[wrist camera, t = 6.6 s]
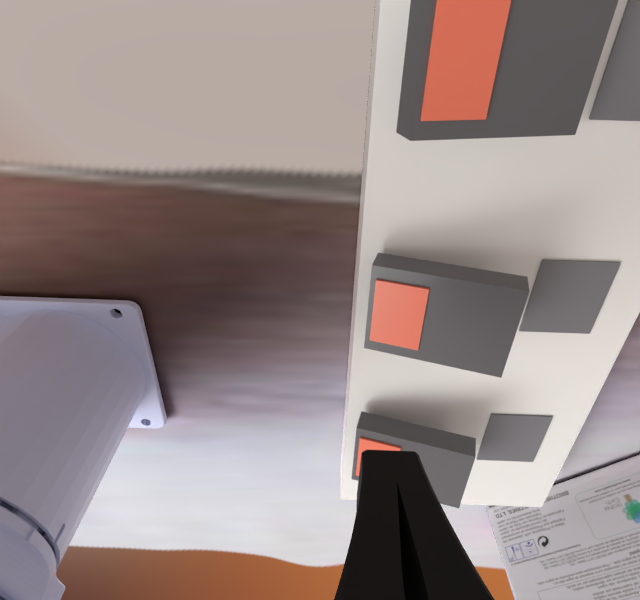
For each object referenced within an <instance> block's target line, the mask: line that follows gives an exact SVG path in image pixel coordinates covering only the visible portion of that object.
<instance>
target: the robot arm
mask: <svg viewBox="0 0 640 600" xmlns="http://www.w3.org/2000/svg"><path fill="white" fill-rule="evenodd" d="M114 309H118V310H119V311H121V313H122V314H120V313H117V312H116V311H115V310H114ZM147 419H148V420H147ZM166 421H167V416H166V412H165V408H164V404H163V399H162V395H161V391H160V387H159V383H158V378H157V374H156V370H155V366H154V361H153V357H152V353H151V349H150V345H149V340H148V336H147V332H146V328H145V324H144V319H143V315H142V311H141V308H140V306H139V305H138V304H137V303H135V302H133V301H128V300H101V299H72V298H43V297H14V296H0V600H60V599H61V597H62V595H63V592H64V590H65V586H64V585H63V584H62V583H61V582H60V581H59V580H58V578H57V577H56V570H57V567H58V565H59V564H60V562H61V560H62V558H63V556H64V554H65V551H66V550H67V548H68V546H69V544H70V542H71V540H72V538H73V536H74V534H75V532H76V530H77V528H78V526H79V524H80V522H81V520H82V518H83V516H84V514H85V512H86V510H87V508H88V506H89V504H90V502H91V500H92V498H93V496H94V494H95V492H96V490H97V488H98V486H99V484H100V482H101V480H102V478H103V476H104V474H105V472H106V470H107V468H108V466H109V464H110V462H111V460H112V458H113V456H114V454H115V452H116V450H117V448H118V446H119V444H120V442H121V440H122V438H123V436H124V434H125V432H126V430H127V428H128V427H132V428H162V427H164V425H165V424H166ZM334 600H494V598H493V597H492V595H491V594H490V592H489V590H488V589H487V587H486V586H485V584H484V582H483V581H482V579H481V577H480V576H479V574H478V573H477V571H476V569H475V567H474V566H473V564H472V562H471V560H470V559H469V557H468V555H467V553H466V552H465V550H464V548H463V546H462V545H461V543H460V541H459V539H458V537H457V535H456V533H455V532H454V530H453V528H452V526H451V524H450V522H449V520H448V519H447V517H446V515H445V513H444V511H443V509H442V507H441V505H440V503H439V501H438V498H437V496H436V494H435V492H434V490H433V488H432V486H431V484H430V481H429V479H428V477H427V474H426V472H425V470H424V467H423V465H422V462H421V460H420V457H419V455H418V454H417V453H416V452H415V451H391V450H365V451H363V452H362V453H361V462H360V471H359V480H358V489H357V513H356V519H355V524H354V529H353V533H352V538H351V542H350V546H349V549H348V553H347V557H346V561H345V564H344V568H343V572H342V575H341V579H340V582H339V586H338V589H337V592H336V595H335V599H334Z"/></svg>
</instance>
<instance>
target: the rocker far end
mask: <svg viewBox="0 0 640 600" xmlns="http://www.w3.org/2000/svg"><path fill="white" fill-rule="evenodd" d="M365 450H391V451H415V452H416V453H417V454H418V455H419V457H420V460H421V462H422V465H423V467H424V470H425V472H426V474H427V477H428V479H429V481H430V484H431V486H432V488H433V490H434V492H435V494H436V496H437V498H438V501H439V503H441V504H445V505H449V506H452V507H456V508H459V506H460V503H461V500H462V497H463V494H464V491H465V488H466V485H467V482H468V479H469V476H470V473H471V469H472V466H473V463H474V460H475V457H476V438H473V437H468V436H464V435H460V434H456V433H451V432H447V431H443V430H439V429H434V428H430V427H426V426H422V425H418V424H413V423H409V422H405V421H401V420H396V419H392V418H388V417H384V416H379V415H375V414H371V413H367V412H362V411H361V414H360V417H359V421H358V424H357V428H356V438H355V448H354V458H353V468H352V479H353V480H357V481H358V480H359V471H360V462H361V453H362V452H363V451H365Z"/></svg>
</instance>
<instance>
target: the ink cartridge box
mask: <svg viewBox="0 0 640 600" xmlns="http://www.w3.org/2000/svg"><path fill="white" fill-rule="evenodd" d="M487 513H488V516H489V520H490V523H491V526H492V529H493V533H494V536H495V539H496V542H497V545H498V548H499V551H500V555H501V558H502V561H503V564H504V567H505V570H506V573H507V576H508V580H509V583H510V587H511V590H512V593H513V596H514V599H515V600H640V455H637V456H634V457H632V458H629V459H626V460H623V461H620V462H618V463H615V464H612V465H609V466H607V467H604V468H601V469H598V470H595V471H593V472H590V473H587V474H584V475H582V476H579V477H576V478H573V479H570V480H567V481H565V482H562V483H559V484H556V485H553V486H552V488H551V490H550V492H549V494H548V496H547V498H546V500H545V502H544V504H543V506H542V507H521V506H493V507H490V508H489V509H487Z"/></svg>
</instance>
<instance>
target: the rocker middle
mask: <svg viewBox="0 0 640 600" xmlns="http://www.w3.org/2000/svg"><path fill="white" fill-rule="evenodd" d="M529 292H530V291H529V284H528V277H527V276H520V275H514V274H508V273H502V272H496V271H489V270H483V269H477V268H471V267H465V266H458V265H452V264H446V263H440V262H434V261H427V260H421V259H415V258H409V257H403V256H396V255H390V254H384V253H378V254H377V256H376V258H375V260H374V262H373V264H372V270H371V281H370V291H369V301H368V311H367V322H366V332H365V342H364V348H366V349H371V350H375V351H380V352H385V353H389V354H394V355H398V356H403V357H408V358H412V359H417V360H421V361H426V362H431V363H435V364H440V365H445V366H449V367H454V368H458V369H463V370H468V371H472V372H477V373H481V374H486V375H491V376H495V377H500V378H501V377H502V374H503V371H504V368H505V365H506V362H507V359H508V356H509V353H510V350H511V347H512V344H513V341H514V338H515V335H516V332H517V329H518V325H519V322H520V319H521V316H522V313H523V310H524V307H525V304H526V301H527V298H528V295H529Z"/></svg>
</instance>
